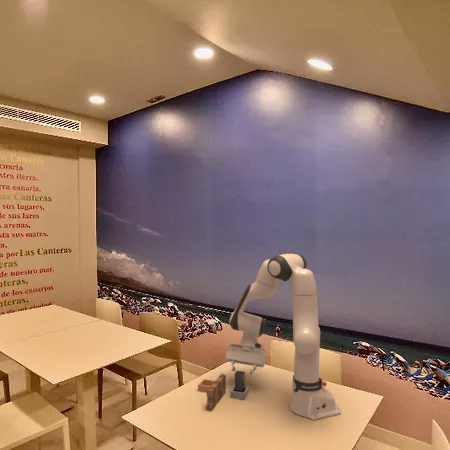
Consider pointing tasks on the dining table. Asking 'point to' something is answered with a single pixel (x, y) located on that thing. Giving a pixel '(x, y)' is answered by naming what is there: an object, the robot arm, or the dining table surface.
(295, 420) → the dining table surface
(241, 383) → the bar
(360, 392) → the dining table surface
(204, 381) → the frame
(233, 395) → the frame
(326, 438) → the dining table surface
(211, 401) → the door panel
